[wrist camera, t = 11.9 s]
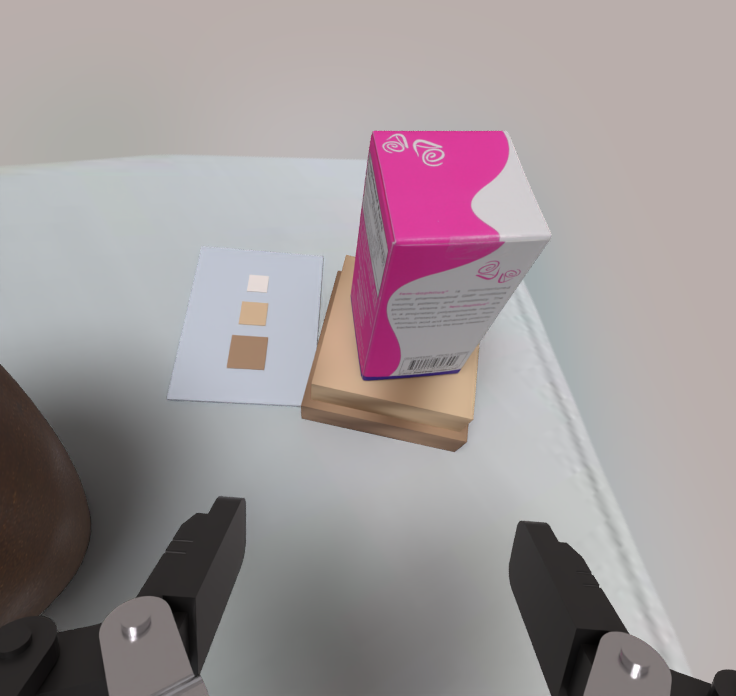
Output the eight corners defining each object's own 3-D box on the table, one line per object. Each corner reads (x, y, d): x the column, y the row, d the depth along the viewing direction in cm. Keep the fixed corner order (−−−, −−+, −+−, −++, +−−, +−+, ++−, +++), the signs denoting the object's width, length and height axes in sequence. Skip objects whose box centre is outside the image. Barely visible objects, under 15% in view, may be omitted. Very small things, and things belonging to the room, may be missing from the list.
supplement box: (439, 288, 28) (514, 125, 18) (459, 375, 25) (561, 244, 15) (347, 292, 27) (370, 123, 17) (359, 383, 24) (394, 249, 14)
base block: (301, 418, 28) (299, 390, 24) (336, 290, 33) (339, 247, 28) (454, 451, 28) (481, 430, 24) (467, 320, 33) (492, 281, 28)
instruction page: (167, 399, 28) (166, 398, 27) (202, 247, 33) (201, 245, 33) (312, 407, 29) (312, 405, 28) (323, 257, 34) (323, 255, 34)
